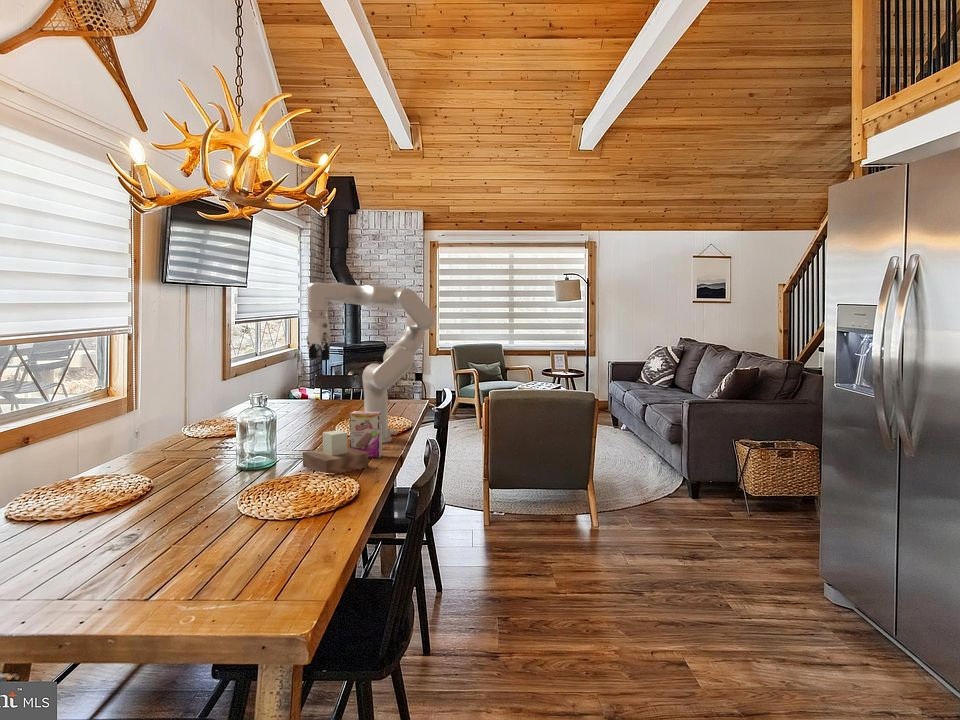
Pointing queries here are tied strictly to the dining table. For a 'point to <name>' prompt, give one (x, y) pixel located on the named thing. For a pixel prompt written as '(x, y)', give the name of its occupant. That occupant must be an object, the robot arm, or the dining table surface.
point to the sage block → (335, 442)
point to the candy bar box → (366, 432)
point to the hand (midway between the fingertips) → (318, 359)
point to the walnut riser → (335, 461)
